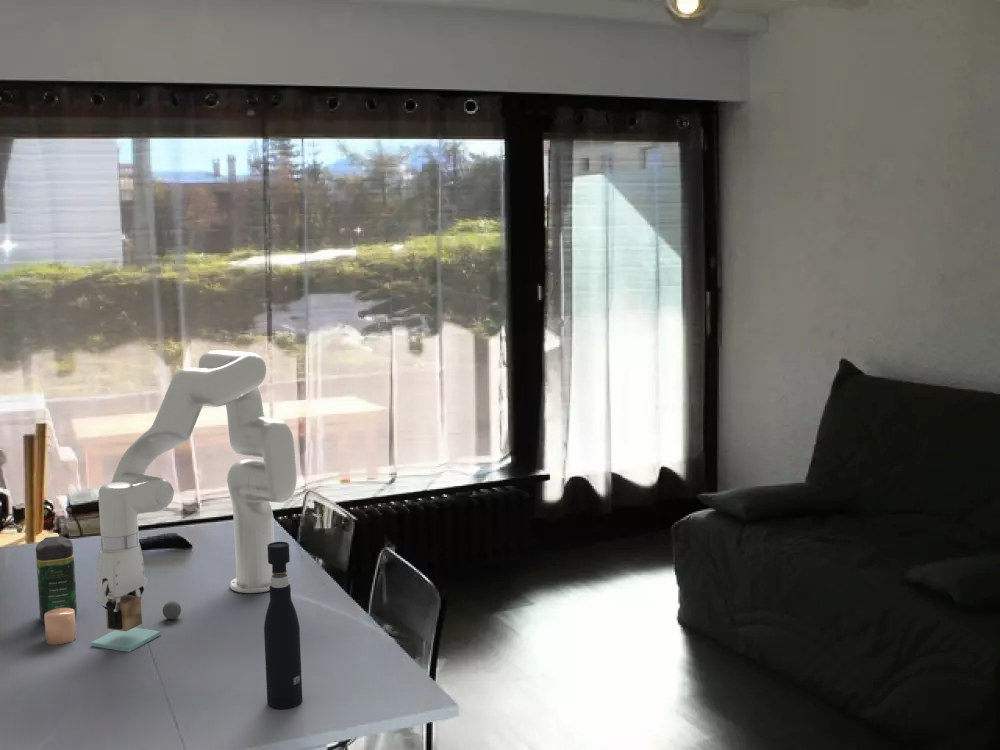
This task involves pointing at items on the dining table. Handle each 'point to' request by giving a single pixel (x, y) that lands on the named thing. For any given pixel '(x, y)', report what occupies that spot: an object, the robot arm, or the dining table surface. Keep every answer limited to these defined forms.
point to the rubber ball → (171, 610)
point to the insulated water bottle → (282, 635)
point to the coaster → (126, 639)
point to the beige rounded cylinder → (60, 626)
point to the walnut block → (129, 612)
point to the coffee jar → (56, 575)
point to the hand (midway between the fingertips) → (124, 623)
